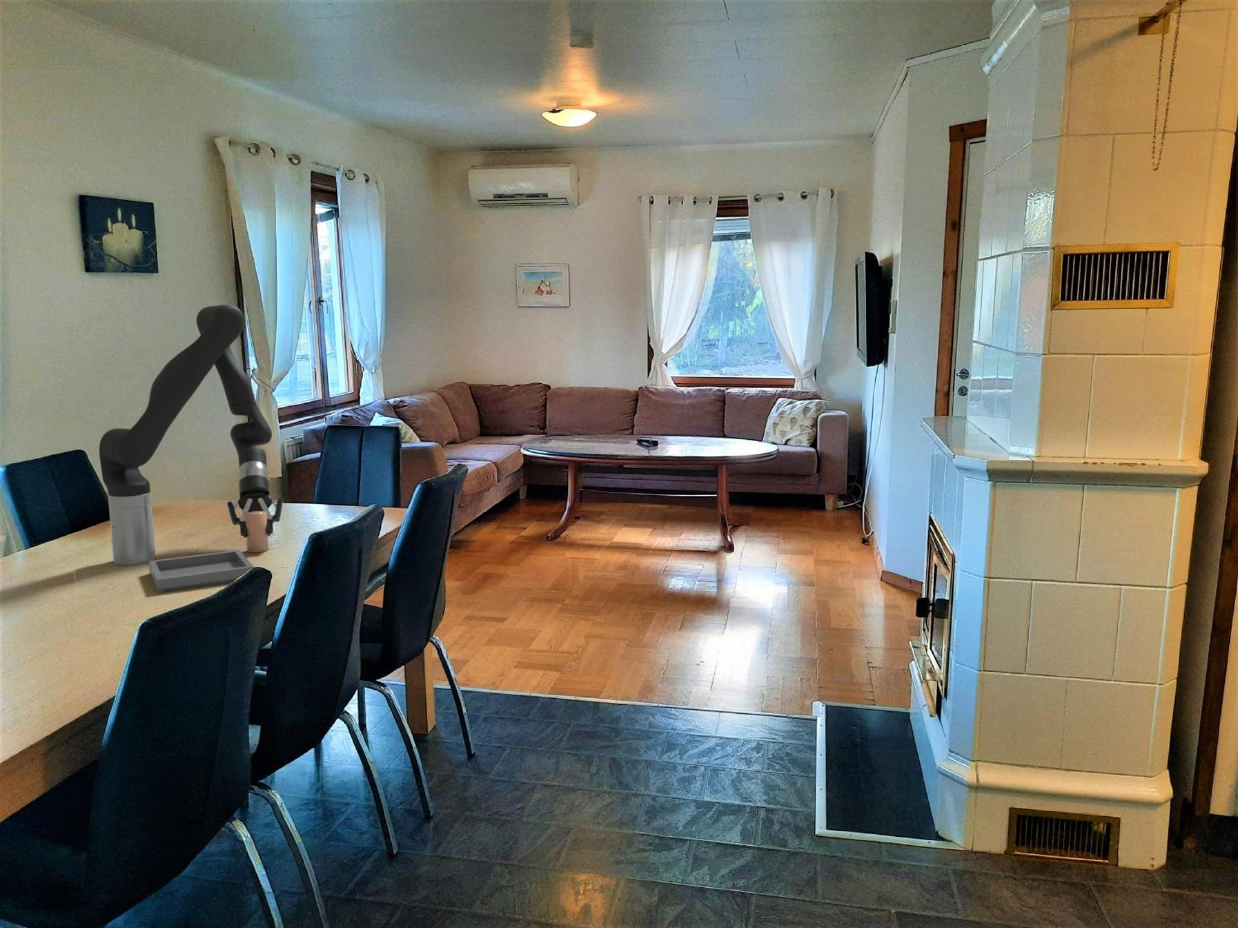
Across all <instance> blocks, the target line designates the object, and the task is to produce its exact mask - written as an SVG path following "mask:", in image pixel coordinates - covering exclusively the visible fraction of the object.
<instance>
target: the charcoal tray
mask: <svg viewBox="0 0 1238 928" xmlns="http://www.w3.org/2000/svg"><path fill="white" fill-rule="evenodd" d="M148 565H149V566H148V567H149V574H150V577H151V579H152V582H153V584H154V586H155V588H156V591H157V593H158V594H161V593H168V592H174V591H181V590H188V589H195V588H196V589H197V588H203V587H204V588H205V587H209V586H215V585H216V586H217V585H218V586H219V585H223V584H231V583H232V584H233V583H234V582H233V581H235V580H236V579H237V578H239V577H240V576H242V575H243V574H245V573H246V572H247V571H248V570H250V569H253V568H254V565H253V564H252V563H251V561H249V559H248V558H247V557H246V556H245V554H243V553H242V551H241V550H240V549H237V550H235V549H234V550H228V551H221V552H220V551H219V552H212V553H205V554H196V555H187V556H180V557H179V556H178V557H172V558H170V557H169V558H164V559H163V558H162V559H155V560H153V561H149V562H148ZM254 569H255V568H254Z"/></svg>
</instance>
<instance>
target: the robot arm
mask: <svg viewBox="0 0 1238 928" xmlns="http://www.w3.org/2000/svg"><path fill="white" fill-rule="evenodd" d="M195 321H196V327H197V330H198V332H199V334H200V336H199V337H198V338H196V339H195V341H193V343H191V344H190V345H188V346H187V347H186V348H184V349H183V350H181V351H180V352H179V353H177V354H176V355H175V356H174V357H172V358H171V359H170V360H169V361H168V362H167V363H166V364H165V366H164V367H162V369H161V370H160V372H159V373H158V375H157V376H156V378H154V379H153V382H152V385H151V387H150V392H149V398H148V403H147V407H146V409H145V411H144V412H143V414H142V415H141V416H140V417H139V419H138V420H137V422H136V423H135V424H134V425H133V426H132V427H131V428H112V429H109V430H108V431H106V432H104V434H103V435H102V436H101V439H100V441H99V447H98V452H99V453H98V454H99V461H100V462H99V463H100V470H101V476H102V481H103V483H104V484H103V485H104V486H105V487H106V489H107V490H106V491H107V497H108V498H107V499H108V500H107V501H108V508H109V509H108V510H109V511H108V512H109V520H110V521H109V522H110V524H109V528H110V529H109V530H110V538H111V551H112V561H113V564H114V566H133V565H142V564H145V563H149V561H154V560H157V559H156V545H155V542H156V541H155V531H154V520H153V518H154V517H153V509H152V508H153V506H152V495H151V494H152V493H151V484H150V482H149V480H148V479H147V478H146V477H145V476H144V475H143V474H142V473H141V471H140V468H139V467H142V466H144V465H145V464H147V463H148V462H149V461H150V460H151V459H152V457H153V456H154V455H155V453H156V451H157V450H158V447H159V446H160V444H161V442H162V440H163V438H164V437H165V435H166V433H167V432H168V429H169V428H170V427H171V425H172V424H173V422H174V421H175V420H176V418H177V417H178V415H179V414H180V412H181V411H182V409H183V408H184V407H185V405H186V404H187V403H188V402H189V400H190V399H191V398H192V396H193V395H194V393H195V392H196V391H197V389H198V388H199V387H200V385H201V384H202V383H203V380H204V379H205V378H206V376H207V375H208V374H209V373H210V371H211V370H212V368H213V367H214V366H215V369H216V371H217V373H218V375H219V377H220V381H221V385H222V387H223V390H224V394H225V397H226V400H227V404H228V408H229V409H230V413H231V414H232V415H234V416H245V417H249V418H250V419H251V421H246V422H239V423H236V424H234V425H233V426H232V427H231V429H230V432H229V433H230V434H229V435H230V438H231V441H232V443H233V445H234V447H235V449H236V453H237V456H238V466H239V467H238V487H239V488H238V491H239V492H238V493H239V498H238V500H237V501H235V502H232V501H228V502H227V503H226V506H227V511H228V514H229V517H230V519H231V522H232V525H234V526H237V525H238V526H239V528H240V529H239V531H240V532H239V533H240V535H241V536H242V537H243V539H245V538H247V536H246V522H245V513H246V512H249V511H266V512H267V533H268V537H270V536H271V535H272V534H274V526H273V525H274V523H279V522H280V520H281V517H282V516H281V515H282V510H283V505H284V504H283V503H284V501H283V499H282V498H278V499H273V497H272V496H271V492H270V491H271V490H270V489H271V488H270V477H269V471H268V466H267V465H268V464H267V463H268V462H267V452H266V451H265V449H264V448H262V447H260V446H263V445H266V444H269V443H270V442H271V440H272V437H273V433H272V428H271V427H270V425H269V423H268V421H267V420H266V418H265V417H264V416H263V414H262V412H261V410H260V408H259V405H258V403H257V400H256V397H255V394H254V389H253V387H252V385H251V384H252V383H251V381H250V379H249V377H248V376H247V374H246V372H245V371H244V369H243V367H241V365H240V364H239V362H238V361H237V359H236V357H235V355H234V354H233V353H234V352H233V351H232V348H231V345H232V344H233V343H234V342H235V341H236V340H237V338H239V336H240V335H241V333H242V332H243V329H244V327H245V316H244V313H243V312H242V311H241V310H240V308H239V307H237V306H234V305H230V304H217V305H211V306H206V307H205V306H204V307H203V308H202V309H199V312H197V316H196V320H195ZM272 505H273V507H274V508H275V511H274V514H273V515H272V514H271V512H270V510H269V508H270V507H271V506H272ZM238 507H239V509H240V510H242V513H241V515H240V517H238V515H237V514H236V511H237V510H238Z"/></svg>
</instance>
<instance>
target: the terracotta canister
mask: <svg viewBox="0 0 1238 928" xmlns="http://www.w3.org/2000/svg"><path fill="white" fill-rule="evenodd" d="M245 522H246V536H247V538H246V551H247V552H248V553H263V551H264V552H266V551H269V549H270V547H269V536H268V533H267V512H266V511H249V512H246V513H245Z"/></svg>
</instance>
